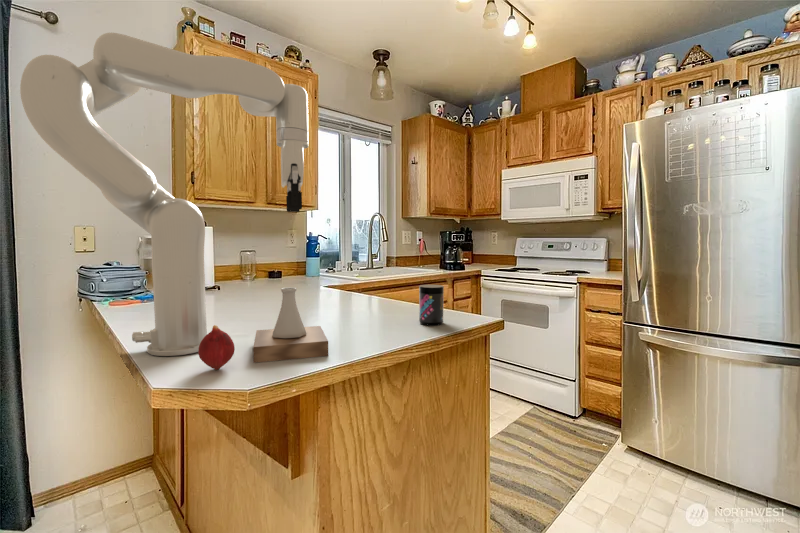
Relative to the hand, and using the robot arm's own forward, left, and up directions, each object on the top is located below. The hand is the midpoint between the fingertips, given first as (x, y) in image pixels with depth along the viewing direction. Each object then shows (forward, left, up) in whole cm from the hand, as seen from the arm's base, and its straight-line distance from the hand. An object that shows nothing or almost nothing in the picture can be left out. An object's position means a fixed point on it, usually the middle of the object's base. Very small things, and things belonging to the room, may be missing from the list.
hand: (294, 210), depth 95 cm
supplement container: (+36, -2, -31) cm, 47 cm away
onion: (-15, -25, -31) cm, 42 cm away
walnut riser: (-2, -16, -30) cm, 34 cm away
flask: (-2, -16, -28) cm, 32 cm away
